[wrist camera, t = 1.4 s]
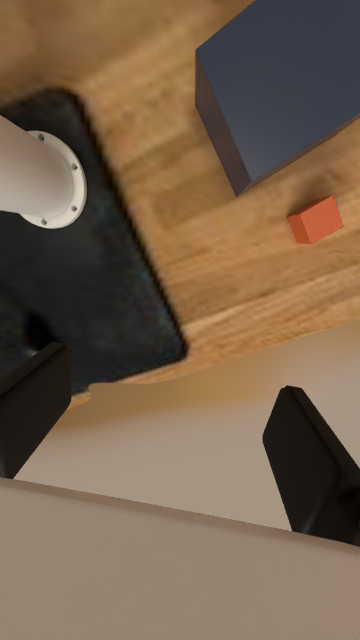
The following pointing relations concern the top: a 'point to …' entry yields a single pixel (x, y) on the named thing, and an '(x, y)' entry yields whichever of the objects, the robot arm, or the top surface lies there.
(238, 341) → the top surface
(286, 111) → the cabinet
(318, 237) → the block
